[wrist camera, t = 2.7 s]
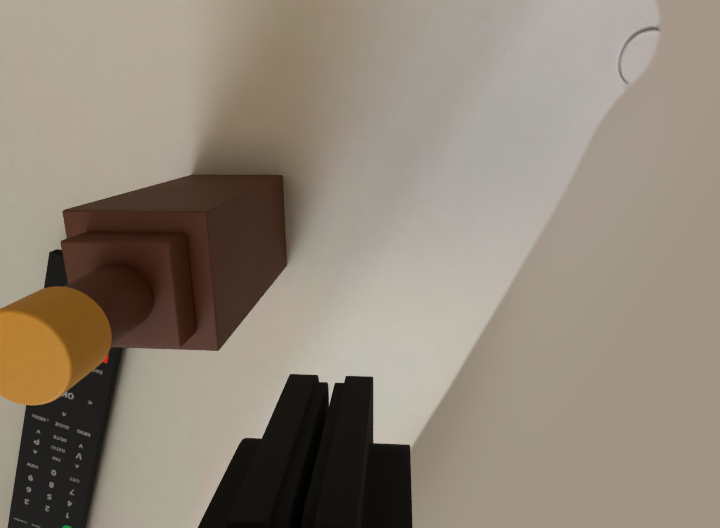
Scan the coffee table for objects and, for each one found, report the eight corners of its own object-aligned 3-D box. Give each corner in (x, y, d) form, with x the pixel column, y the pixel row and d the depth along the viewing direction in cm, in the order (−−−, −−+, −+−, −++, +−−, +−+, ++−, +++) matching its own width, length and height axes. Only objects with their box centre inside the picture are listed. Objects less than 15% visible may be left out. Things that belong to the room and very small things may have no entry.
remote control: (142, 273, 33) (131, 280, 31) (83, 551, 40) (72, 566, 38) (63, 246, 33) (49, 252, 31) (18, 529, 40) (5, 543, 38)
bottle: (282, 175, 30) (106, 259, 12) (287, 266, 32) (135, 456, 14) (190, 174, 31) (-105, 255, 13) (199, 264, 32) (-54, 445, 14)
